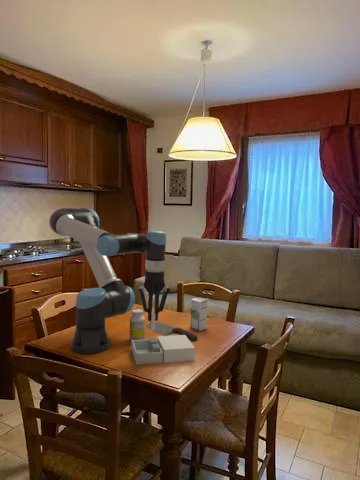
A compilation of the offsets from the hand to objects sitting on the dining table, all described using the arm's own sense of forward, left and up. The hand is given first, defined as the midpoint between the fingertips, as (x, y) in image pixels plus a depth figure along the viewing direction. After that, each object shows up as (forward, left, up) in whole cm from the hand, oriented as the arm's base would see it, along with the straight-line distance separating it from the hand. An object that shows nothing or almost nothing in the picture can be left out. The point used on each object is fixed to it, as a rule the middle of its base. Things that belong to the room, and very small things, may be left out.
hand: (152, 328), depth 148 cm
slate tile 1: (+2, -6, -7) cm, 10 cm away
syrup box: (+27, +25, -10) cm, 38 cm away
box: (-3, -3, -10) cm, 11 cm away
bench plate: (+9, -3, -10) cm, 14 cm away
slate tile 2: (+2, 0, -7) cm, 7 cm away
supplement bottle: (-4, +15, -10) cm, 18 cm away
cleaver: (+13, +21, -11) cm, 27 cm away
